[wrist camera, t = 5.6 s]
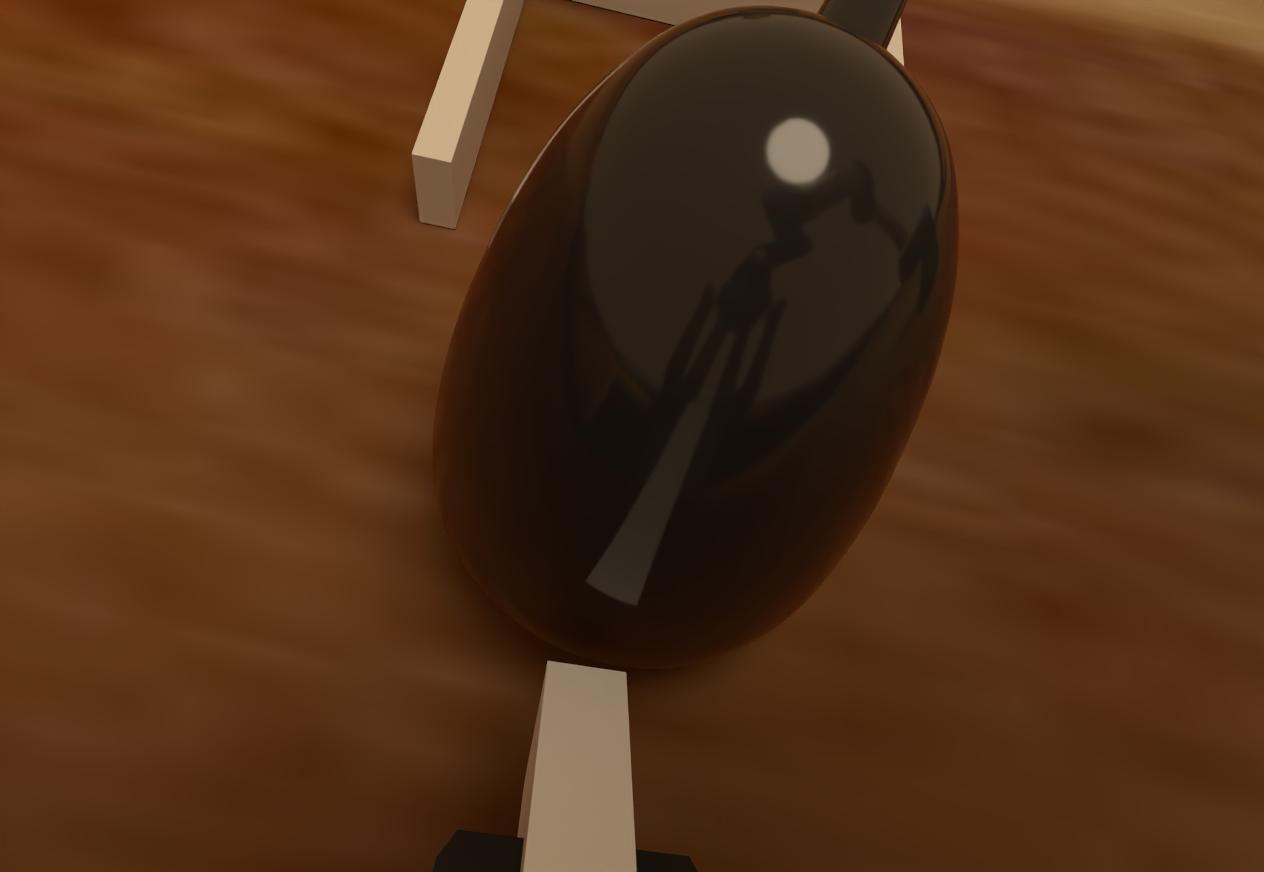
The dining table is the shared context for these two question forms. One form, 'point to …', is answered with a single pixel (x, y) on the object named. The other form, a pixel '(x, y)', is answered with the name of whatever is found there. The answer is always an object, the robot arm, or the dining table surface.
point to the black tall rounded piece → (701, 336)
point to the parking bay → (475, 80)
